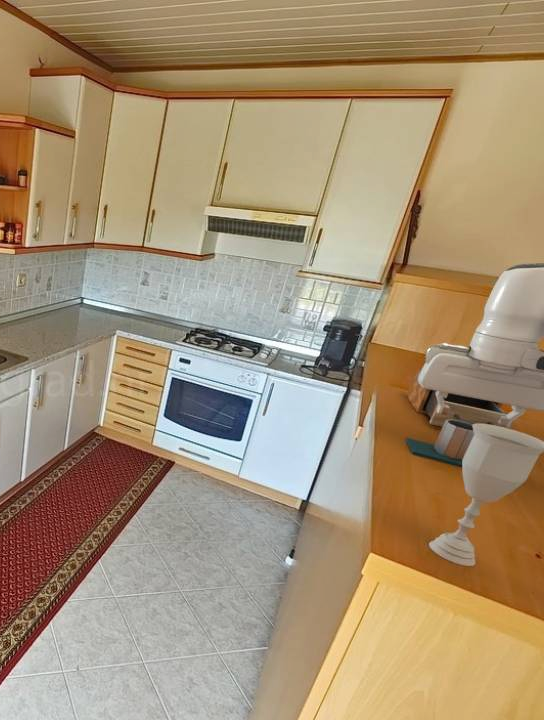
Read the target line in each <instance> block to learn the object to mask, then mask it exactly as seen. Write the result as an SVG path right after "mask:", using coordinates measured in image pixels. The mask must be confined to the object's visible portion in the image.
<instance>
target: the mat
mask: <svg viewBox="0 0 544 720" xmlns="http://www.w3.org/2000/svg"><path fill="white" fill-rule="evenodd" d="M405 442H406V444H407V446H408V448H409V450H410V452H411V454H412V455H415V456H418V457H422V458H426V459H430V460H434V461H437V462H441V463H445V464H450V465H453V466H457V467H461V468H462V461H459V460H454V459H451V458H448V457H445V456H443V455H441V454H439V453H438V452H436V450H435V448H434V446H435V444H434V443H429V442H425V441H421V440H417V439H413V438H409V437H406V438H405Z"/></svg>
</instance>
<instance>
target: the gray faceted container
mask: <svg viewBox="0 0 544 720" xmlns="http://www.w3.org/2000/svg"><path fill="white" fill-rule="evenodd" d="M473 436H474V431H473V425H472V424H470V423H466V422H463V421H458V420H452V419H449V420H445V423H444V425H443V427H441V429H440V432H439V434H438V436H437V439H436V440H435V444H434V445H435V446H434V448H435V450H436V452H438V453H439V454H441V455H443V456H445V457H448V458H451V459H454V460H459V461H462V460H463V458H464V455H465V453H466V451H467V449H468V447H469V445H470V443H471V440H472V438H473Z"/></svg>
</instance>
